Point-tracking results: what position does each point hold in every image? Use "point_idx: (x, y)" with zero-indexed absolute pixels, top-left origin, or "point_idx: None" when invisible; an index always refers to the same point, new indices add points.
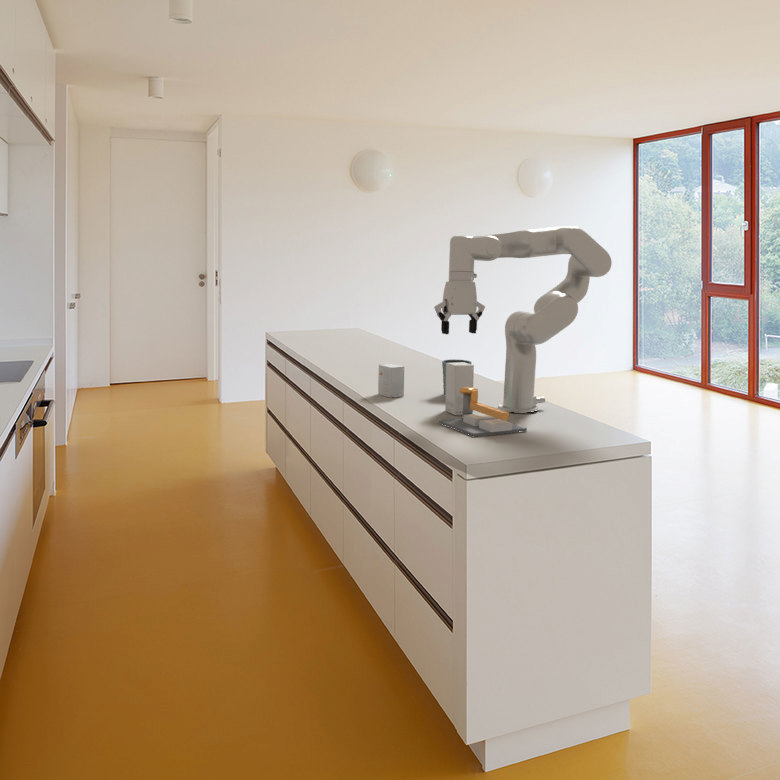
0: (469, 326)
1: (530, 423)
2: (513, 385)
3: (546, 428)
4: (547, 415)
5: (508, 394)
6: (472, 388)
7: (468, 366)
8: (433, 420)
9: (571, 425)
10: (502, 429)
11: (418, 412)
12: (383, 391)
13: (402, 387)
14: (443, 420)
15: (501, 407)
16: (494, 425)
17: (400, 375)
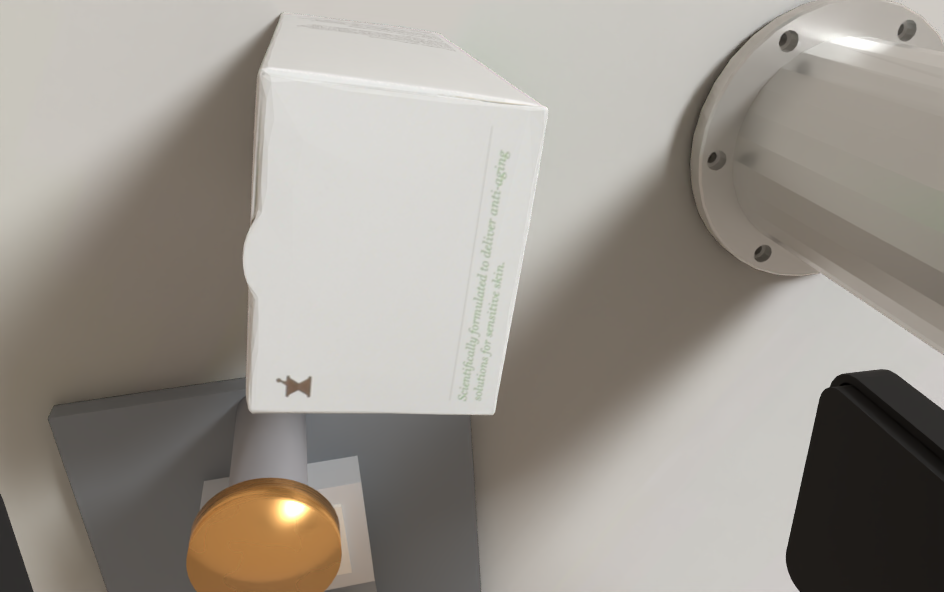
0: (926, 495)
1: (619, 478)
2: (842, 272)
3: (618, 575)
4: (852, 324)
5: (786, 207)
6: (298, 562)
7: (421, 411)
8: (47, 316)
9: (775, 538)
10: None
11: (3, 15)
12: None
13: None
14: (80, 433)
15: (701, 152)
16: None
17: None
